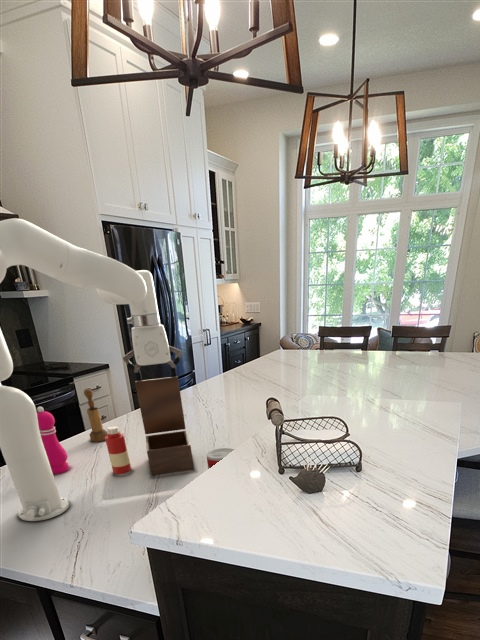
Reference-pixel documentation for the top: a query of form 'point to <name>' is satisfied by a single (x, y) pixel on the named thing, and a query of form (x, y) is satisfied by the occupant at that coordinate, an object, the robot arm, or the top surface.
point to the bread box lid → (160, 405)
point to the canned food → (217, 455)
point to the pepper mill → (51, 442)
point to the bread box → (169, 453)
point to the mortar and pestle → (94, 419)
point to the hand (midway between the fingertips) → (157, 383)
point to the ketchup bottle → (117, 451)
